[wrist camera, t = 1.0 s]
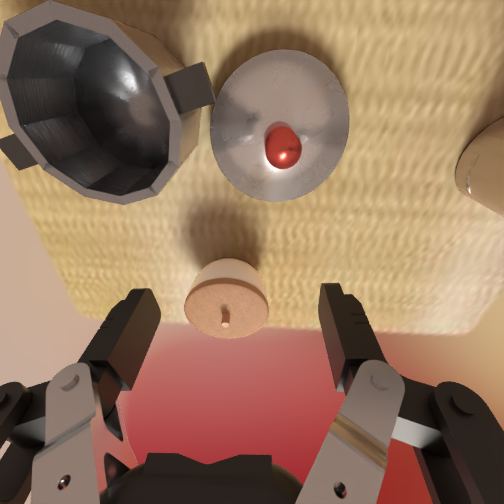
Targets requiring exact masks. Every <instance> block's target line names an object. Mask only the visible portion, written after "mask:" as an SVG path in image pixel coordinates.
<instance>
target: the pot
mask: <svg viewBox="0 0 504 504" xmlns="http://www.w3.org/2000/svg"><path fill="white" fill-rule="evenodd" d="M0 100H1V103H2V106H3V109H4V112H5V116H6V119H7V122H8V125H9V127H10V128H11V130H12V131H13V132H14V133H15V134H12V135H10V136H7V137H4V138H2V139H0V149H1V150H2V151H3V152H4V153H5V155H6V156H7V157H8V158H9V159H10V160H11V162H12V163H13V164H14V165H15V166H16V168H17V169H18V170H19V171H20V170H22V169H25V168H28V167H31V166H34V165H37V164H39V165H40V166H41V167H42V169H43V170H44V171H46V172H48V173H49V174H51V175H52V176H54V177H55V178H57V179H58V180H60V181H61V182H63V183H64V184H66V185H67V186H69V187H70V188H72V189H73V190H75V191H77V192H78V193H80V194H81V195H83V196H84V197H89V198H94V199H98V200H103V201H107V202H112V203H117V204H121V205H125V204H129V203H132V202H136V201H139V200H143V199H146V198H150V197H153V196H157V195H158V194H159V193H160V191H161V190H162V189H163V188H164V187H165V185H166V184H167V183H168V182H169V180H170V179H171V178H172V177H173V176H174V174H175V173H176V172H177V171H178V169H179V168H180V167H181V165H182V164H183V163H184V161H185V160H186V159H187V158H188V156H189V155H190V154H191V152H192V151H193V150H194V149H195V147H196V146H197V145H198V136H199V127H200V117H201V107H203V106H206V105H209V104H212V103H215V102H216V101H217V100H216V97H215V94H214V91H213V88H212V85H211V81H210V78H209V75H208V72H207V69H206V66H205V63H204V62H200V63H197V64H195V65H192V66H190V67H187V68H185V67H184V66H183V65H182V64H181V63H180V62H179V61H178V60H177V59H176V58H175V57H174V56H173V55H172V54H171V52H170V51H169V50H168V49H167V48H166V47H165V46H164V45H163V44H162V43H161V42H160V41H159V40H158V39H157V38H156V37H155V36H154V35H151V34H149V33H146V32H144V31H141V30H138V29H136V28H133V27H131V26H128V25H126V24H123V23H121V22H118V21H116V20H113V19H110V18H106V17H103V16H100V15H97V14H93V13H90V12H87V11H84V10H81V9H77V8H74V7H71V6H68V5H65V4H61V3H58V2H55V1H53V0H48V1H46V2H44V3H42V4H40V5H37V6H35V7H33V8H31V9H29V10H27V11H25V12H23V13H21V14H19V15H17V16H15V17H13V18H11V19H9V20H7V21H4V25H3V29H2V33H1V36H0Z"/></svg>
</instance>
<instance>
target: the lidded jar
mask: <svg viewBox="0 0 504 504" xmlns="http://www.w3.org/2000/svg"><path fill="white" fill-rule="evenodd" d="M184 311H185V315H186V317H187V319H188V321H189V322H190V323H191V324H192V325H193V326H194V327H195V328H196V329H197V330H199V331H201V332H203V333H205V334H207V335H210V336H213V337H218V338H227V339H233V338H241V337H245V336H248V335H251V334H253V333H255V332H256V331H258V330H259V329H261V328H262V326H263V325H264V324H265V323H266V321H267V319H268V314H269V308H268V302H267V295H266V289H265V286H264V283H263V280H262V278H261V276H260V275H259V273H258V272H257V271H256V270H255V269H254V268H253V267H252V266H251V265H249V264H248V263H246V262H244V261H241V260H239V259H235V258H225V259H220V260H216V261H214V262H212V263H210V264H208V265H207V266H206V267H204V268H203V269H202V270H201V271H200V272H199V274H198V275H197V276H196V278H195V280H194V282H193V284H192V286H191V289H190V291H189V294H188V296H187V298H186V301H185V305H184Z"/></svg>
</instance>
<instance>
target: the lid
mask: <svg viewBox="0 0 504 504" xmlns="http://www.w3.org/2000/svg"><path fill="white" fill-rule="evenodd" d="M216 100H217V101H216V102H215V104H214V107H213V111H212V117H211V126H210V135H211V144H212V150H213V153H214V156H215V159H216V161H217V164H218V166H219V168H220V169H221V171H222V173H223V174H224V176H225V177H226V178H227V179H228V181H229V182H230V183H231V184H232V185H233V186H234V187H236V188H237V189H238V190H240V191H241V192H243V193H244V194H246V195H248V196H250V197H252V198H255V199H259V200H262V201H268V202H282V201H288V200H293V199H296V198H299V197H301V196H303V195H305V194H307V193H309V192H311V191H312V190H314V189H315V188H317V187H318V186H319V185H320V184H322V183H323V182H324V181H325V180H326V179H327V178H328V176H329V175H330V174H331V173H332V172H333V170H334V169H335V167H336V166H337V164H338V162H339V160H340V158H341V156H342V154H343V151H344V149H345V146H346V142H347V138H348V132H349V109H348V103H347V99H346V96H345V93H344V91H343V88H342V86H341V84H340V82H339V81H338V79H337V77H336V76H335V75H334V73H333V72H332V71H331V70H330V69H329V68H328V67H327V66H326V65H325V64H324V63H323V62H321V61H320V60H318V59H317V58H315V57H314V56H311V55H309V54H307V53H304V52H301V51H296V50H288V49H280V50H271V51H268V52H264V53H261V54H259V55H257V56H255V57H252V58H251V59H249V60H248V61H246V62H245V63H243V64H242V65H241V66H239V67H238V68H237V69H236V70H235V71H234V72H233V73H232V74H231V76H230V77H229V78H228V79H227V80H226V82H225V84H224V85H223V87H222V88H221V90H220V92H219V94H218V96H217V99H216Z"/></svg>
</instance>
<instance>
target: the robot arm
mask: <svg viewBox="0 0 504 504" xmlns="http://www.w3.org/2000/svg"><path fill="white" fill-rule="evenodd" d="M455 179H456V184H457V187H458V188H459V190H460V191H461V192H462V193H463V194H464V195H466V196H468V197H470V198H471V199H473V200H475V201H477V202H478V203H480V204H482V205H484V206H485V207H487V208H489V209H490V210H492V211H494V212H496V213H497V214H499V215H501V216H503V217H504V117H503V118H501V119H499V120H498V121H496V122H494V123H493V124H491V125H489V126H488V127H487V128H486V129H485V130H483V131H482V132H481V133H480V134H479V135H478V136H477V137H476V138H475V139H474V140H473V141H472V142H471V143H470V144H469V146H468V147H467V148H466V150H465V151H464V153H463V154H462V156H461V158H460V160H459V162H458V166H457V169H456V176H455ZM318 313H319V320H320V324H321V328H322V333H323V337H324V340H325V345H326V349H327V354H328V358H329V362H330V366H331V371H332V375H333V379H334V384H335V388H336V391H338V392H339V391H340V392H341V391H344V392H345V395H346V398H345V400H344V402H343V405H342V406H341V409H340V411H339V413H338V415H337V417H336V419H335V420H334V422H333V424H332V426H331V428H330V430H329V432H328V434H327V436H326V439H325V440H324V443H323V445H322V447H321V449H320V451H319V454H318V455H317V458H316V460H315V462H314V464H313V466H312V468H311V470H310V473H309V475H308V477H307V479H306V481H305V483H304V485H303V484H302V483H301V482H300V481H299V480H298V479H297V478H296V477H295V476H294V475H293V474H292V473H290V472H289V471H288V470H286V469H284V468H283V467H281V466H279V465H277V464H274V463H272V457H271V455H237V456H234V457H231V458H228V459H225V460H222V461H219V462H216V463H212V464H207V465H206V464H203V463H200V462H198V461H195V460H193V459H190V458H188V457H185V456H183V455H180V454H177V453H148V455H147V458H146V462H145V463H143V464H141V465H138V463H137V460H136V458H135V455H134V453H133V451H132V450H131V448H130V445H129V442H128V438H127V434H126V430H125V425H124V421H123V417H122V413H121V408H120V404H119V400H118V399H117V398H118V395H119V393H120V391H127V390H128V391H131V390H132V387H133V385H134V383H135V380H136V378H137V375H138V373H139V371H140V368H141V366H142V363H143V361H144V359H145V356H146V354H147V351H148V349H149V347H150V344H151V342H152V339H153V337H154V335H155V332H156V330H157V327H158V325H159V322H160V319H161V311H160V308H159V306H158V303H157V301H156V299H155V297H154V295H153V292H152V290H151V289H149V288H143V289H132V290H131V291H130V292H129V294H128V296H127V297H126V299H125V300H121V301H120V302H119V303H118V304H117V305H116V306H114V307H113V308H112V309H111V311H110V312H109V314H108V316H107V317H106V320H105V321H104V322H103V323H102V325H101V326H100V329H99V330H98V331H97V333H96V334H95V336H94V337H93V339H92V340H91V342H90V344H89V345H88V347H87V348H86V350H85V351H84V353H83V354H82V356H81V358H80V359H79V361H78V362H77V363H74V364H71V365H69V366H67V367H65V368H64V369H62V370H61V371H60V372H58V373H57V374H56V375H55V376H54V377H53V379H52V380H51V381H48V382H44V383H41V384H38V385H35V386H32V387H28V388H26V387H25V386H23V385H22V384H21V383H19V382H10V383H6V384H4V385H2V386H0V449H1V447H2V445H3V444H4V443H5V441H6V440H7V441H9V442H11V444H10V446H9V447H8V449H7V450H6V452H5V453H4V455H3V457H2V458H1V460H0V504H24V503H25V501H26V499H27V497H28V495H29V493H30V491H31V504H376V501H377V498H378V494H379V491H380V487H381V484H382V480H383V477H384V473H385V470H386V465H387V451H388V447H389V443H390V440H391V438H394V439H397V440H400V441H402V442H405V443H407V444H410V445H412V446H413V448H414V451H415V454H416V457H417V460H418V463H419V465H420V468H421V471H422V474H423V477H424V480H425V482H426V485H427V488H428V490H429V494H430V496H431V499H432V502H433V504H504V431H503V430H502V428H501V426H500V425H499V423H498V422H497V420H496V418H495V417H494V415H493V414H492V412H491V411H490V409H489V407H488V406H487V404H486V403H485V402H484V401H483V399H482V398H481V397H480V396H479V395H478V394H476V393H475V392H473V391H472V390H471V389H469V388H468V387H466V386H464V385H461V384H459V383H456V382H450V381H449V382H442V383H440V384H439V385H438V386H437V387H434V386H430V385H427V384H424V383H420V382H417V381H414V380H411V379H408V378H406V377H404V376H402V375H400V374H399V373H398V372H397V371H396V370H395V369H394V368H393V367H392V366H390V365H389V364H388V363H387V361H386V359H385V357H384V356H383V353H382V351H381V348H380V346H379V344H378V341H377V339H376V337H375V334H374V332H373V330H372V328H371V325H370V324H369V321H368V318H367V316H366V315H365V311H364V309H363V307H362V305H361V303H360V302H359V301H358V300H357V299H356V298H355V297H354V296H353V295H352V294H345V295H344V293H343V291H342V288H341V286H340V284H339V283H322V284H321V289H320V297H319V305H318Z"/></svg>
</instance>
